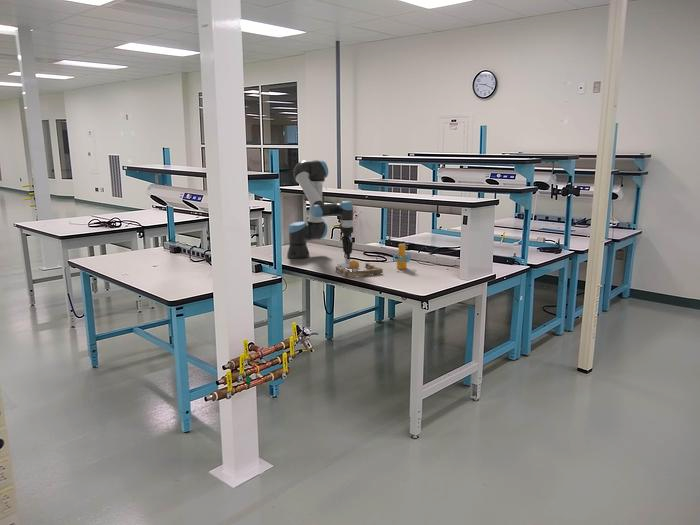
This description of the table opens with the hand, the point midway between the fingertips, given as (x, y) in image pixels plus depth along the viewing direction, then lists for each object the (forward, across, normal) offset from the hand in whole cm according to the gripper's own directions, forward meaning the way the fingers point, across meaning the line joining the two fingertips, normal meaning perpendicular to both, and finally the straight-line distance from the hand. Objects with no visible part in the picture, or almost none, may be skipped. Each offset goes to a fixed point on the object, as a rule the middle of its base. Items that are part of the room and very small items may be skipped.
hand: (347, 263), depth 329 cm
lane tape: (+2, +6, 0) cm, 6 cm away
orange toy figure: (+2, +19, +28) cm, 34 cm away
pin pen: (+2, +16, 0) cm, 16 cm away
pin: (+1, +14, -2) cm, 14 cm away
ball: (-1, +10, 0) cm, 10 cm away
